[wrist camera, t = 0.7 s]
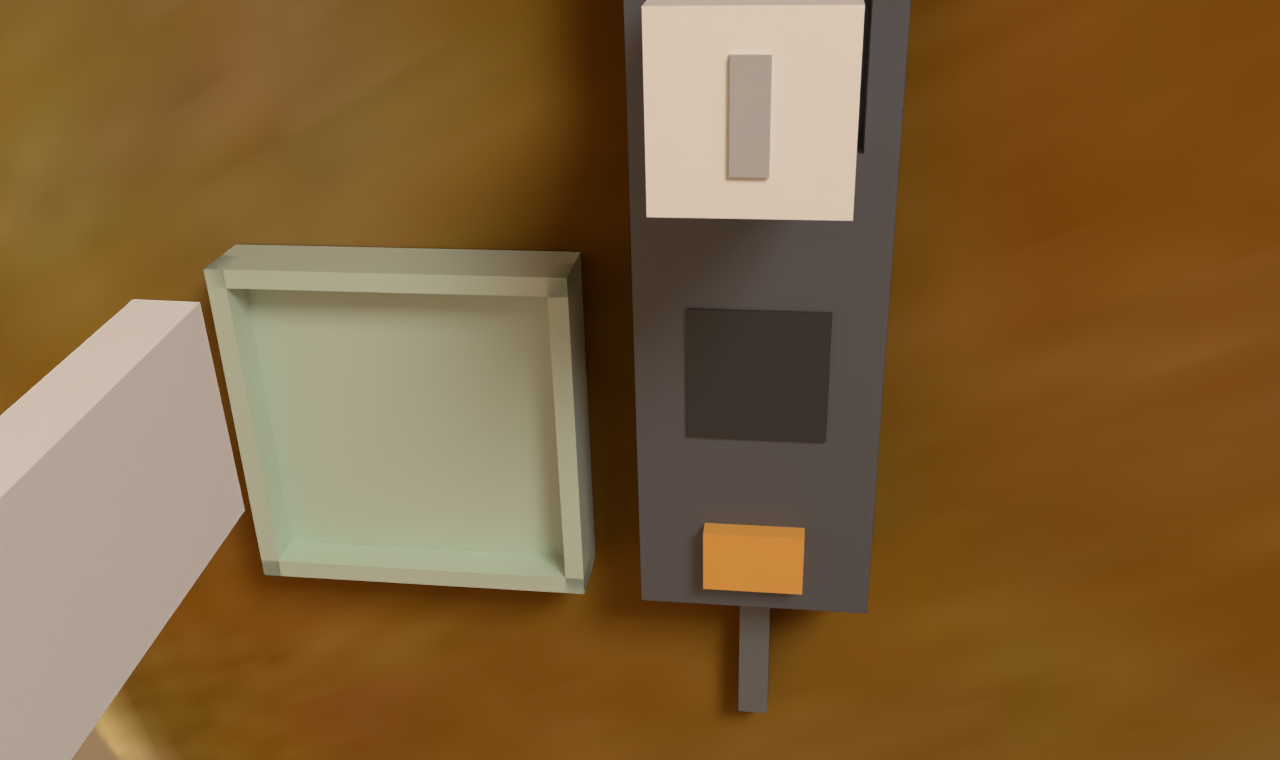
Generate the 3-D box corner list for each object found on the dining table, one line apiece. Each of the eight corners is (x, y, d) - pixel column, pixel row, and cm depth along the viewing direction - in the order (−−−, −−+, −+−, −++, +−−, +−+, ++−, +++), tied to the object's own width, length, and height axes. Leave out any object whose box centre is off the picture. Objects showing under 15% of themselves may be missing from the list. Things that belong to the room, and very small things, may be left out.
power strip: (853, 699, 42) (856, 774, 38) (656, 686, 42) (643, 757, 39) (920, -269, 28) (933, -278, 25) (633, -258, 29) (611, -267, 26)
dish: (595, 555, 40) (584, 594, 38) (290, 538, 42) (264, 575, 40) (580, 251, 36) (566, 278, 34) (235, 244, 37) (203, 269, 35)
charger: (843, 116, 32) (853, 222, 24) (688, 115, 32) (645, 219, 24) (851, -49, 30) (865, 5, 22) (687, -48, 30) (640, 6, 22)
